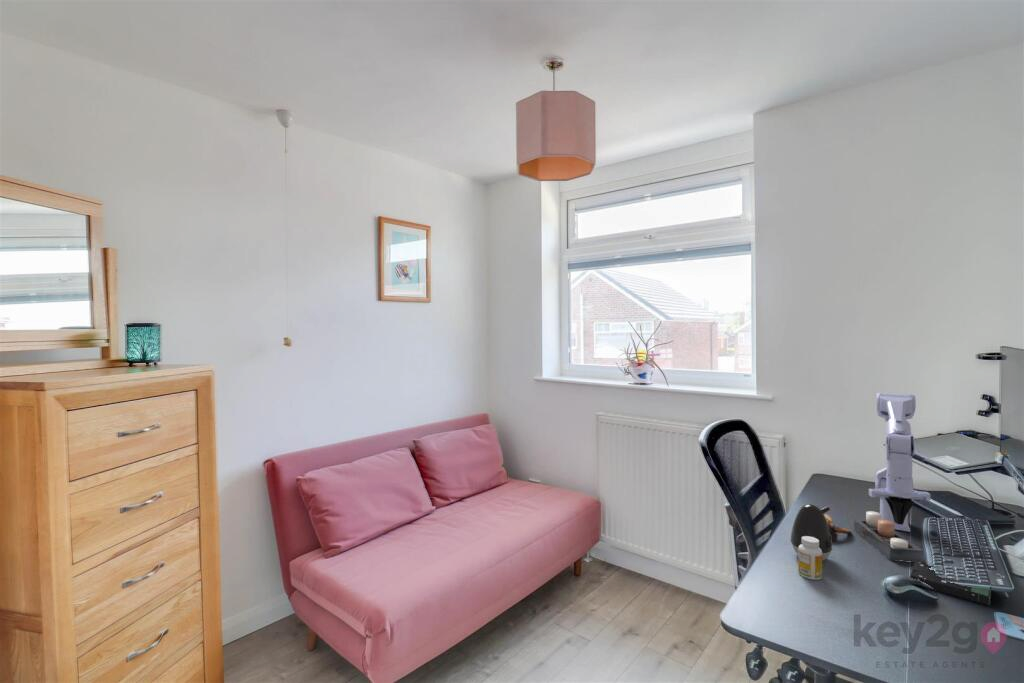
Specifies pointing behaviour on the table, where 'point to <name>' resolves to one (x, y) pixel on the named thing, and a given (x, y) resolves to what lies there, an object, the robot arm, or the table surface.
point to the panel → (888, 543)
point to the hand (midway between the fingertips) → (898, 523)
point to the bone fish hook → (835, 528)
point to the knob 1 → (873, 519)
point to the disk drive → (948, 584)
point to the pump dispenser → (812, 528)
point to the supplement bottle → (810, 558)
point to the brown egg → (886, 528)
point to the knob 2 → (898, 543)
